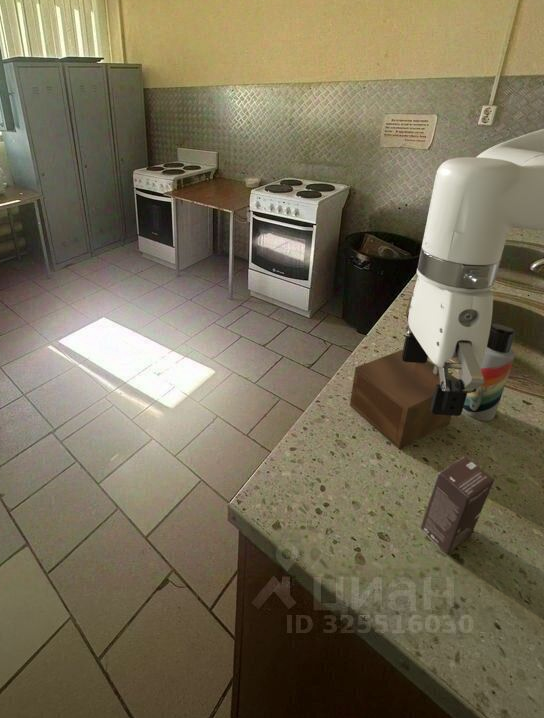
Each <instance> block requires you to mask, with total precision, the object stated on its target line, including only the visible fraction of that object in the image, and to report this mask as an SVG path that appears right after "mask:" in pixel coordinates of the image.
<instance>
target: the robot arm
mask: <svg viewBox="0 0 544 718" xmlns="http://www.w3.org/2000/svg"><path fill="white" fill-rule="evenodd" d="M512 229H522V230H523V229H524V230H532V231H533V230H534V231H541V232H542V231H543V232H544V128H543V129H538V130H535V131H531V132H529V133H526V134H523V135H520V136H517V137H514V138H511V139H509V140H505V141H503V142H501V143H498V144H496V145H494V146H491V147H489V148H487V149H485V150H484V151H482V152H480V154H478V155H477V156H465V157H454V158H449V159H447V160H445V161H443V163H441V164H440V165H439V167H438V168H437V170H436V174H435V178H434V183H433V187H432V193H431V197H430V202H429V208H428V213H427V219H426V223H425V228H424V233H423V238H422V244H421V248H420V253H419V259H418V263H417V268H416V275H417V278H416V282H415V285H414V289H413V293H412V295H411V296H410V297H409V298H408V312H407V314H406V318H407V324H408V325H406V327H405V334H406V335H405V337H404V341H403V347H402V350H403V352H402V357H401V358H402V360H403V361H404V362H414V363H426V362H427V360H428V359H429V360H430V362H431V363H433V364H434V365H437V366H438V369H439V377H440V384H436V388H435V392H434V396H433V400H432V404H431V408H430V409H431V411H432V413H433V414H438V415H449V416H451V417H461V415H462V413H463V407H464V403H465V400H466V396H467V393H471V392H476V390H477V388H478V387H479V386H480V385H482V384H483V382H484V377H483V375H482V372H481V369H480V368H481V366H482V364H483V360H484V356H485V352H486V348H487V343H488V338H489V333H490V327H491V323H492V319H493V311H494V309H493V307H494V293H493V292H492V290H493V288H494V285H495V282H496V279H497V274H498V271H499V267H500V264H501V260H502V256H503V253H504V249H505V245H506V241H507V237H508V236H509V235H508V234H509V231H510V230H512ZM428 357H429V358H428ZM452 358H456V359H457V360H458V362H449V361H450V360H451V359H452ZM449 369H453V370H458V374H459V378H457V379H454V380H450V379H449V374H450V373H449Z"/></svg>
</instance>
